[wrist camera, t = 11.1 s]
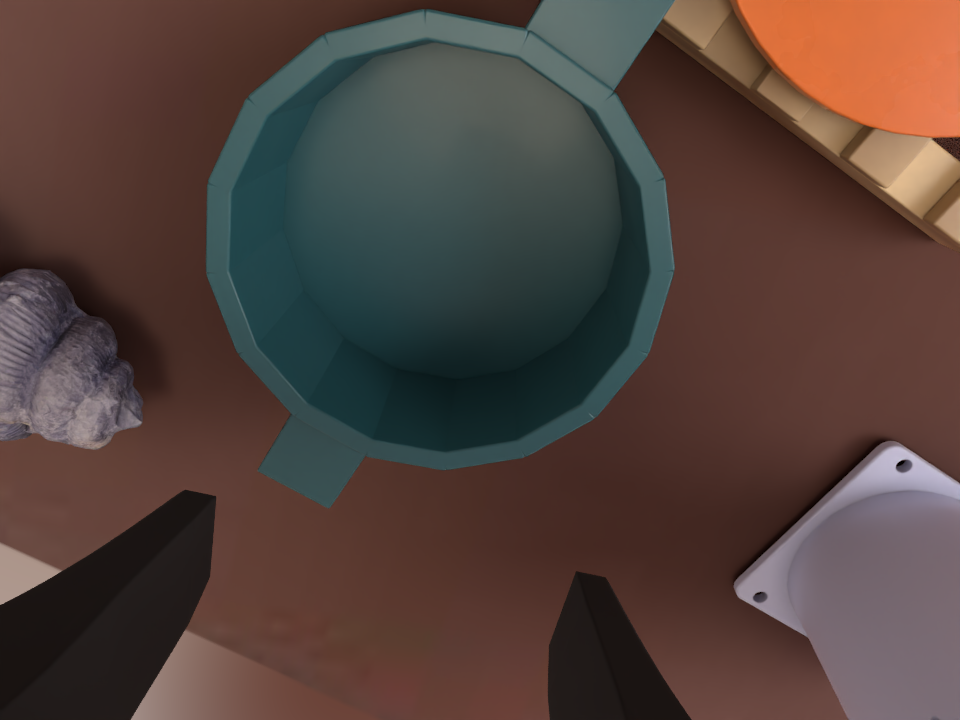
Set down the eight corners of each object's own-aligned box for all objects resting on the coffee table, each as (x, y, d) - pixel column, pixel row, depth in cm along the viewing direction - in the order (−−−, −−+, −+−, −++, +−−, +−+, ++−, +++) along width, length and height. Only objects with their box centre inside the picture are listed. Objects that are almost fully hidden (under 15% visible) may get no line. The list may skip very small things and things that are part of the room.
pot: (782, 85, 19) (862, 99, 15) (463, 495, 26) (452, 592, 21) (436, -180, 17) (409, -257, 13) (179, 337, 23) (101, 408, 19)
